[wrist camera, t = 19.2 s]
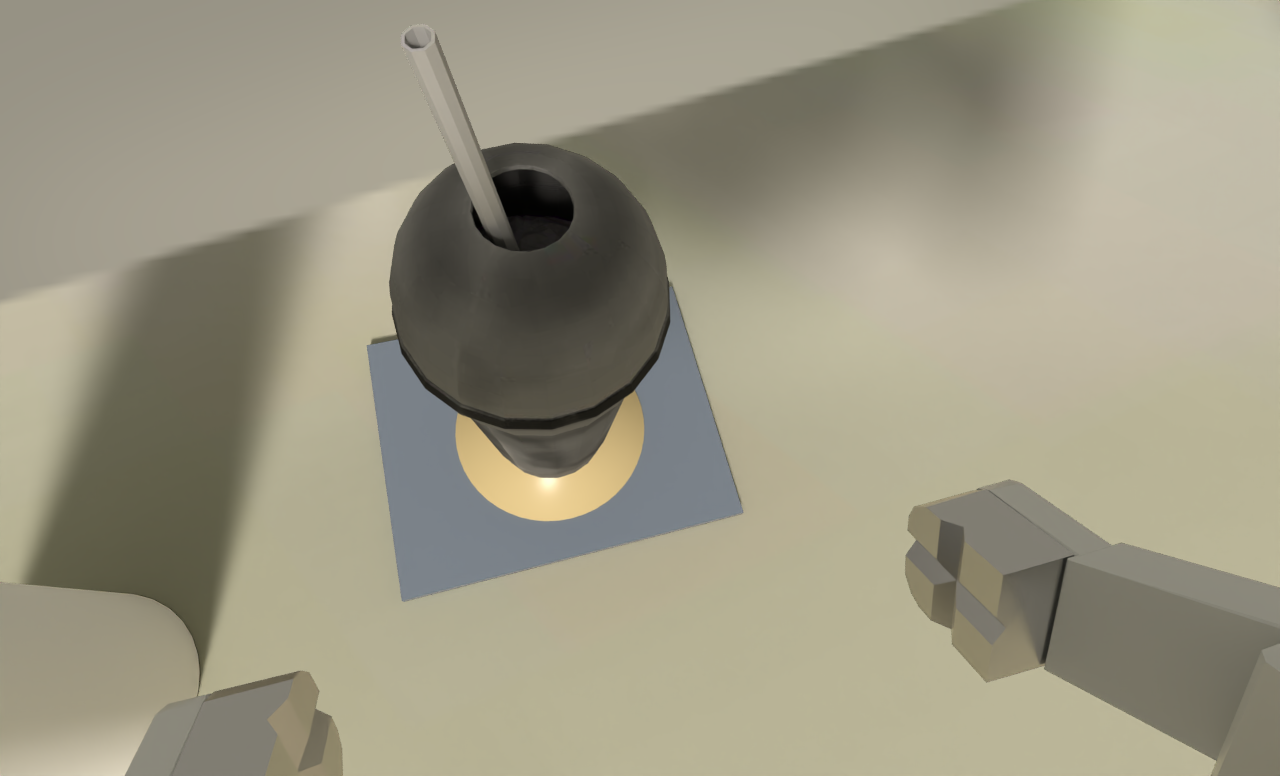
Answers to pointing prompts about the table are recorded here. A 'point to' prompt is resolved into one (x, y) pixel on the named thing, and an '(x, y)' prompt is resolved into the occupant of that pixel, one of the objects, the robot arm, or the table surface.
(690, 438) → the card
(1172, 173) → the table surface
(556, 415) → the beverage cup
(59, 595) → the cylindrical container
